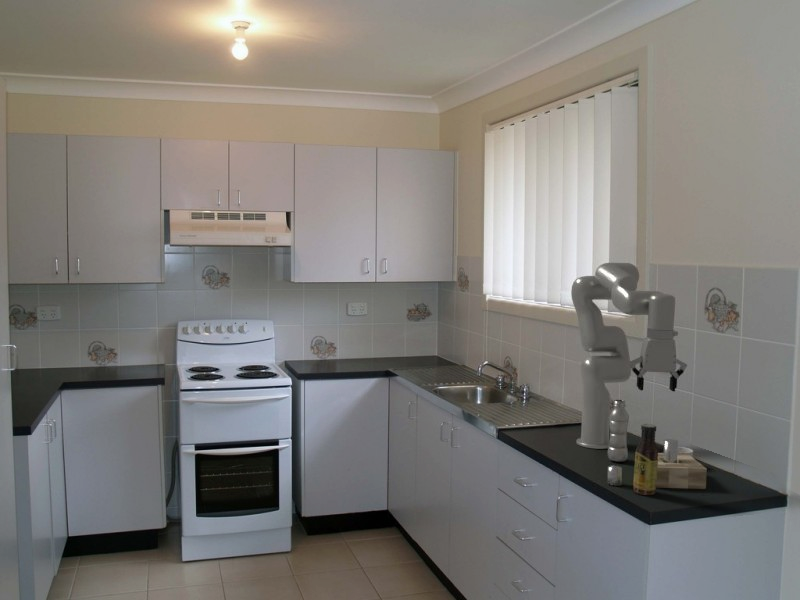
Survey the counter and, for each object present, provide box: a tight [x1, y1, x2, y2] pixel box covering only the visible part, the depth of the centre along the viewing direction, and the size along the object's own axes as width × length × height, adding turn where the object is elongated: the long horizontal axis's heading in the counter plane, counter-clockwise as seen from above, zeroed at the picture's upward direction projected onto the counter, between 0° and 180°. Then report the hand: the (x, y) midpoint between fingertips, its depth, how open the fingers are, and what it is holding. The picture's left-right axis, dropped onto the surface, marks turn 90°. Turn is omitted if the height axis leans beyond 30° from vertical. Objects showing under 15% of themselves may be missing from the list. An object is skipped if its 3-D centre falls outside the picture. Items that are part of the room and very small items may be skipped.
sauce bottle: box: [632, 423, 659, 496], centre depth 219 cm, size 7×6×20 cm
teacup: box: [678, 446, 694, 458], centre depth 247 cm, size 10×8×5 cm
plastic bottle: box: [607, 399, 630, 463], centre depth 251 cm, size 6×7×20 cm
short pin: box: [607, 465, 623, 487], centre depth 227 cm, size 4×4×5 cm
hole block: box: [656, 452, 708, 490], centre depth 232 cm, size 16×16×6 cm
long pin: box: [663, 438, 679, 463], centre depth 232 cm, size 4×4×12 cm
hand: (656, 390), depth 235 cm, fingers open, 9 cm apart
